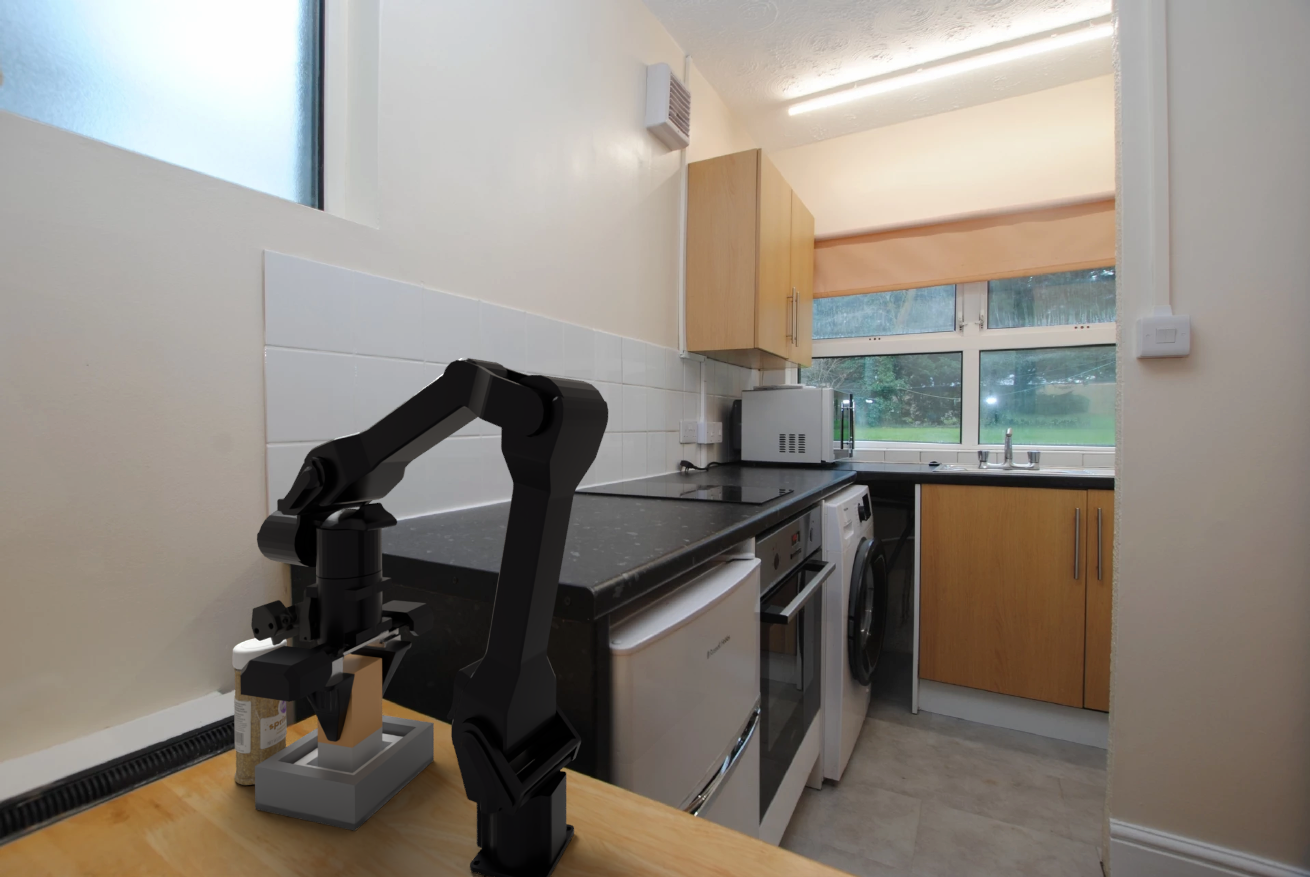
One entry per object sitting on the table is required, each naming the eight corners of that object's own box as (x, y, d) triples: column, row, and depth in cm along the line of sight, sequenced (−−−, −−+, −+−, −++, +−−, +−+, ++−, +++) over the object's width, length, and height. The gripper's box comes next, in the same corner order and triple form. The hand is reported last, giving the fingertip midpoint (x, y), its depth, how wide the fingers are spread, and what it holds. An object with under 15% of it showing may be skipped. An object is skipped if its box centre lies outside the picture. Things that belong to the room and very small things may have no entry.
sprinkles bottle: (288, 777, 58) (287, 644, 57) (231, 793, 55) (230, 654, 55) (287, 755, 61) (286, 631, 61) (234, 769, 59) (233, 639, 59)
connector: (382, 755, 58) (381, 658, 58) (352, 779, 54) (351, 674, 54) (349, 750, 59) (349, 654, 59) (317, 772, 55) (317, 669, 55)
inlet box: (433, 760, 61) (433, 723, 61) (354, 830, 50) (354, 785, 50) (347, 745, 63) (347, 709, 63) (255, 809, 53) (255, 766, 53)
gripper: (353, 548, 67) (354, 680, 68) (189, 591, 49) (191, 771, 50) (436, 553, 65) (436, 691, 65) (293, 601, 47) (295, 791, 47)
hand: (351, 729), depth 57 cm, fingers closed on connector, 4 cm apart
